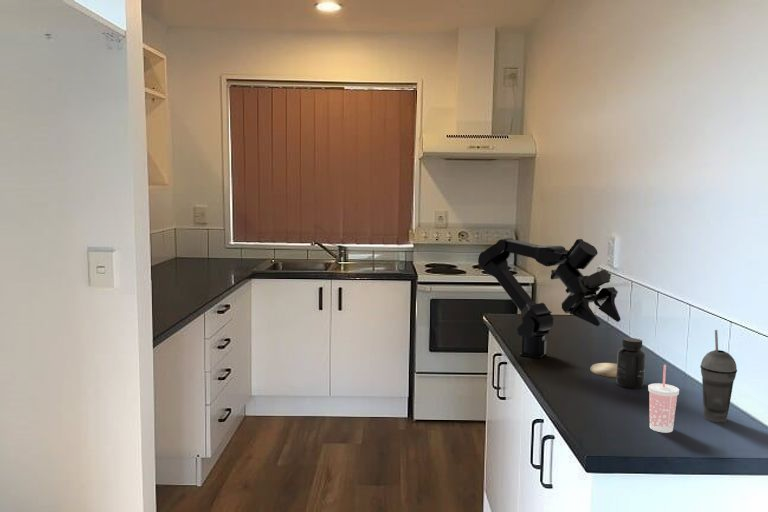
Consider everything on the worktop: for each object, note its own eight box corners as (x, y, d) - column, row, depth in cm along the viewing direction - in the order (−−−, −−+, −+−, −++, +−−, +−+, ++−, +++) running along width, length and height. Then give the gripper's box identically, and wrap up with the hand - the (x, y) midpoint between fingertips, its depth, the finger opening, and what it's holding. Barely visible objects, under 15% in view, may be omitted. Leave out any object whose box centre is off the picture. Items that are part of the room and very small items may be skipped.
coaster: (586, 373, 174) (586, 370, 174) (594, 363, 184) (594, 360, 184) (631, 380, 169) (631, 377, 169) (637, 369, 179) (637, 366, 179)
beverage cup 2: (719, 427, 137) (726, 336, 134) (689, 416, 143) (695, 329, 141) (740, 421, 140) (747, 332, 138) (710, 410, 146) (716, 326, 144)
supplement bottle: (646, 389, 161) (649, 343, 159) (618, 388, 162) (620, 342, 161) (641, 381, 168) (643, 337, 166) (614, 379, 169) (616, 335, 168)
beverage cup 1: (666, 422, 139) (670, 360, 137) (682, 433, 133) (687, 368, 131) (640, 423, 138) (643, 361, 137) (655, 434, 132) (659, 369, 131)
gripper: (569, 263, 169) (606, 307, 160) (610, 258, 180) (647, 299, 171) (546, 290, 175) (581, 334, 167) (588, 284, 186) (622, 325, 178)
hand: (609, 323), depth 171 cm, fingers open, 9 cm apart
